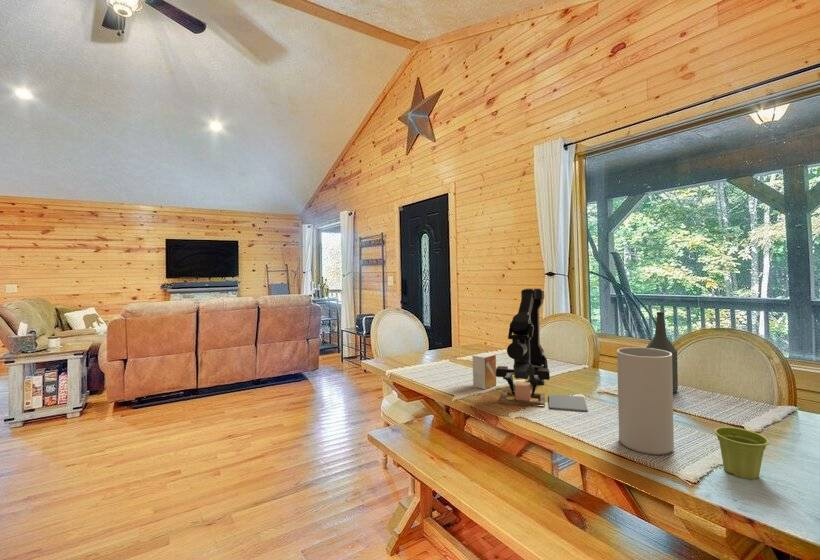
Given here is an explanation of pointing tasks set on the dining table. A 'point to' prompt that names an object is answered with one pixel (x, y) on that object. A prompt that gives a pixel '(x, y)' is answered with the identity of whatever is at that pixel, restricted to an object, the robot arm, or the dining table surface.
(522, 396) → the block
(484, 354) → the small box
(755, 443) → the plant pot
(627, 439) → the cylinder vase
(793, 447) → the dining table surface
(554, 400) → the mat
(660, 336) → the bottle
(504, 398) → the holder
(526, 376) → the robot arm
